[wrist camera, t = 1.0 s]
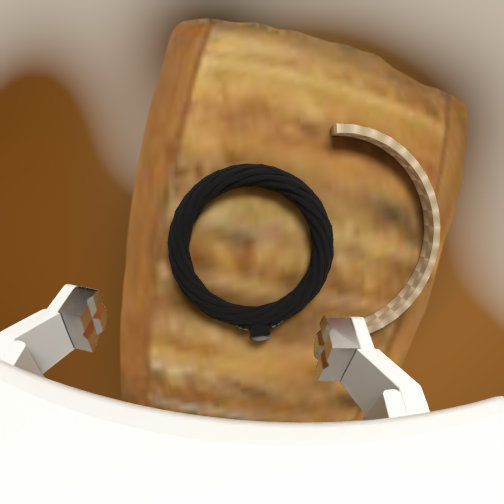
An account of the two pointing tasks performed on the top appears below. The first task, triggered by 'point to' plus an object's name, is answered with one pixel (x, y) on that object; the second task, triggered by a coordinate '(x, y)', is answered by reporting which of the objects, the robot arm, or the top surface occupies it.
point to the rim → (429, 214)
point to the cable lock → (270, 312)
